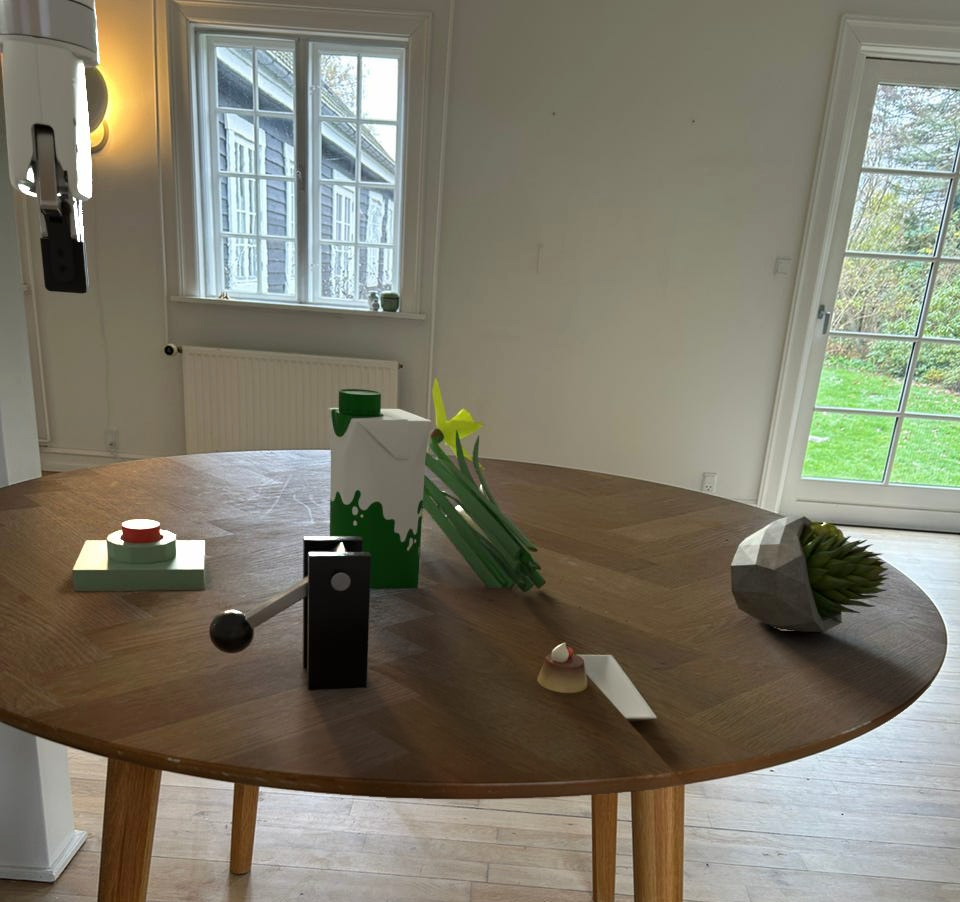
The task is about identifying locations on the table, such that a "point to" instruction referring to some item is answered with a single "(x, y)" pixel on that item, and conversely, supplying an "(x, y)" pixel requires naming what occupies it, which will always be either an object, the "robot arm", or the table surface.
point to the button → (141, 531)
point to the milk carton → (378, 484)
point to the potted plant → (803, 575)
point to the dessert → (570, 677)
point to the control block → (140, 564)
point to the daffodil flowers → (474, 509)
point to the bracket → (336, 613)
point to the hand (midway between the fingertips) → (67, 291)
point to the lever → (255, 616)
